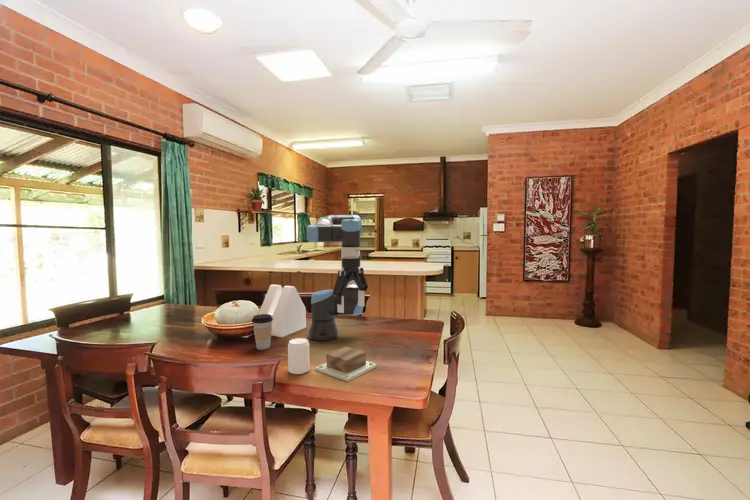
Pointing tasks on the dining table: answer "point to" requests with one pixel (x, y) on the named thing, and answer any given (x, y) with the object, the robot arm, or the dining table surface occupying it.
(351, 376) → the baseplate
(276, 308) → the white notched block
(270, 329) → the coffee cup
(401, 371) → the dining table surface
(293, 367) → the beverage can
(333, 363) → the walnut brick
